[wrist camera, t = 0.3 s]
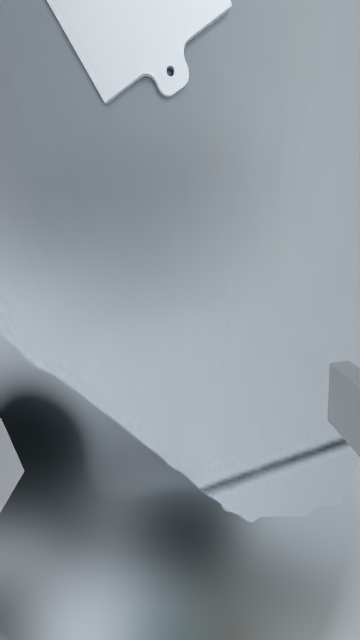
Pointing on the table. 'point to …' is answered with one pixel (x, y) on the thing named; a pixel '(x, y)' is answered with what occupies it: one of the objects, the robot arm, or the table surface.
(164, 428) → the table surface
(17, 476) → the robot arm
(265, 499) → the table surface
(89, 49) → the mounting plate
